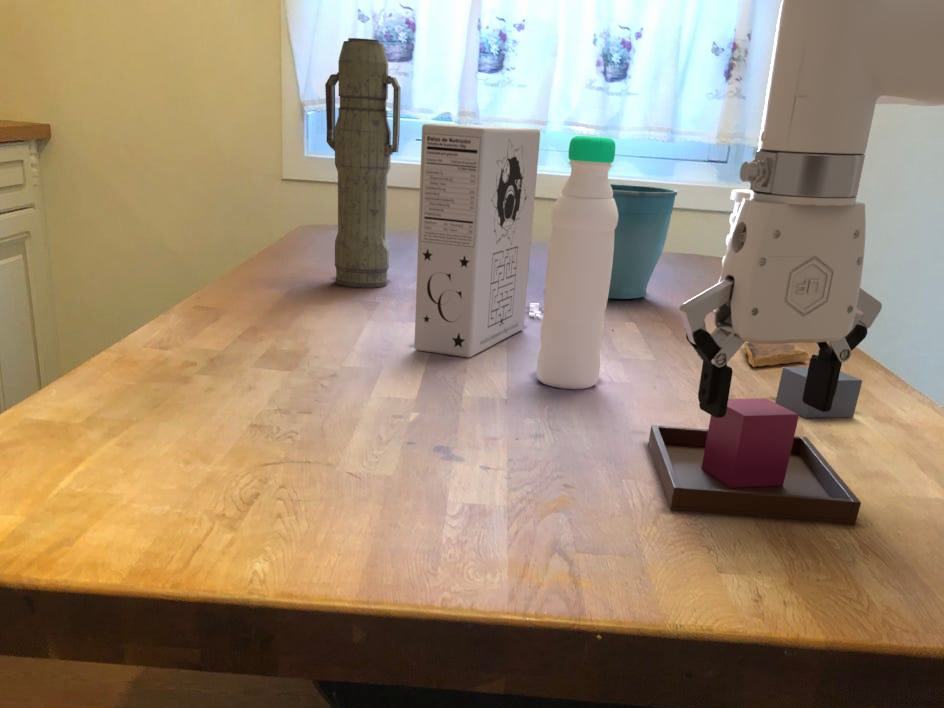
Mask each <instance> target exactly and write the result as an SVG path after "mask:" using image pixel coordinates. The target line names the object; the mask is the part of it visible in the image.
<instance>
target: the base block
mask: <svg viewBox="0 0 944 708" xmlns="http://www.w3.org/2000/svg"><path fill="white" fill-rule="evenodd" d="M808 368H809V366H783V367H782V369H781V374H780V379H779V383H778V388H777V393H776V398H775V401H774V403H776V404H778V405H780V406H782V407H784V408H786V409H788V410H790V411H793V412H795V413H797V414H799V417H800V416H801V417H803V418H804V419H830V418H831V419H833V418H854V416H855V412H856V408H857V404H858V400H859V397H860V396H859V395H860V393H861V388H862V385H863V379H860V378H858V377H856V376H853V375H851V374H848V373H846V372H843V371H841V370H840V374H839V379H838V383H837V388H836V393H835V395H834V398H833V402H832V407H831V410H830V411H828V412H822V411H820V410H818V409H815V408H813V407H811V406H809V405H807V404H805V403H804V402H803V400H802V399H803V393H804V388H805V383H806V378H807V373H808Z"/></svg>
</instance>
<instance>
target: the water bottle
mask: <svg viewBox="0 0 944 708" xmlns="http://www.w3.org/2000/svg"><path fill="white" fill-rule="evenodd" d="M615 157H616V142H615V140H614V139H612V138H610V137H602V136H590V135H589V136H588V135H576V136H573V137H572V138H571V140H570V142H569V146H568V159H569V161H568V165H569V166H570V169H571V170H570V174H569V177H568V179H567V180H566V181H565V183H564V185H563V186H562V188H561V194H559V195H558V197H557V199H556V201H555V203H554V204H553V207H552V208H551V209H552V210H551V224H552V228H551V233H550V238H549V244H548V250H547V251H548V253H547V261H546V268H545V269H546V270H545V280H544V281H545V282H544V300H543V302H544V303H543V308H544V310H543V311H544V312H543V315H544V316H543V315H542V317H543V318H542V319H541V323H540V324H541V325H540V333H539V335H540V337H539V339H540V340H539V341H540V349H539V352H538V357H537V365H536V377H537V379H538V381H539V382H541V383H542V384H543V385H546V386H549V387H552V388H556V389H557V388H558V389H564V390H565V389H566V390H585V389H589V388H592V387H593V386H595V385H596V384H597V383H598V380H599V378H600V371H601V370H600V368H601V349H602V346H603V343H604V335H605V314H606V310H607V305H608V300H609V298H608V294H609V287H610V280H611V272H612V263H613V252H614V230H615V228H616V226H617V223H618V210H617V206H616V203H615V200H614V198H613V190H612V187H611V185H610V184H611V183H610V181H609V171H610V169H611V168H612V167H613V164H612V163H614V161H615Z"/></svg>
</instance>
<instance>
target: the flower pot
mask: <svg viewBox="0 0 944 708" xmlns="http://www.w3.org/2000/svg"><path fill="white" fill-rule="evenodd" d="M610 185H611V187H612V190H613V198H614V200H615V203H616V206H617V210H618V223H617V226H616V228H615V230H614V252H613V263H612V272H611V280H610V287H609V294H608V299H612V300H618V299H619V300H631V299H632V300H633V299H641V298H643V297H645V296H646V295H647V288H648V284H649V282H650V280H651V277H652V275H653V273H654V270H655V268H656V266H657V263H658V262H659V260H660V258H661V256H662V252H663V250H664V248H665V244H666V240H667V238H668V237H667V236H668V232H669V227H670V223H671V218H672V214H673V211H674V205H675V200H676V196H677V195H678V190H676V189H671V188H664V187H658V186H657V187H656V186H647V185H636V184H635V185H634V184H633V185H632V184H616V183H610Z"/></svg>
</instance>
